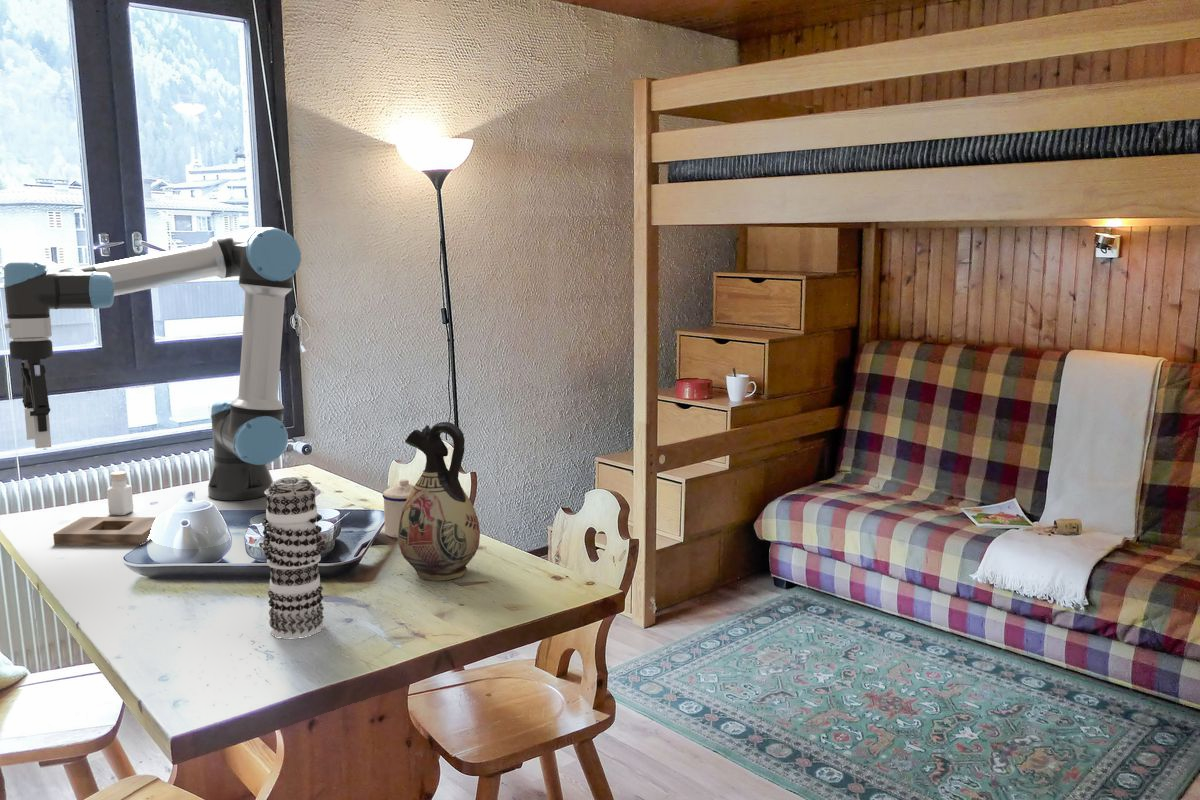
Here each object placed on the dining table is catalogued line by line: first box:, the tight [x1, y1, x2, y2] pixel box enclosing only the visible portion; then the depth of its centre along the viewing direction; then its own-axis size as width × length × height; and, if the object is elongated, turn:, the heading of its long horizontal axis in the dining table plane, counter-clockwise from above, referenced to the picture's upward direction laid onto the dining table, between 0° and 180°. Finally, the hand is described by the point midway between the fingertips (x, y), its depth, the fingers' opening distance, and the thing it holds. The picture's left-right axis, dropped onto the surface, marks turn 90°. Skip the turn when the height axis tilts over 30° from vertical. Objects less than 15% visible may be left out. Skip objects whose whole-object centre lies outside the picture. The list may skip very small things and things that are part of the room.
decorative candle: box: [261, 476, 325, 638], centre depth 160 cm, size 9×9×25 cm
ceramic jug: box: [397, 421, 481, 582], centre depth 185 cm, size 17×15×30 cm
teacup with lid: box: [382, 478, 415, 539], centre depth 213 cm, size 12×9×12 cm
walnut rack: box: [52, 516, 156, 547], centre depth 209 cm, size 18×12×2 cm, turn 90°
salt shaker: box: [106, 470, 134, 516], centre depth 225 cm, size 4×4×10 cm
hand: (38, 443), depth 203 cm, fingers open, 13 cm apart
